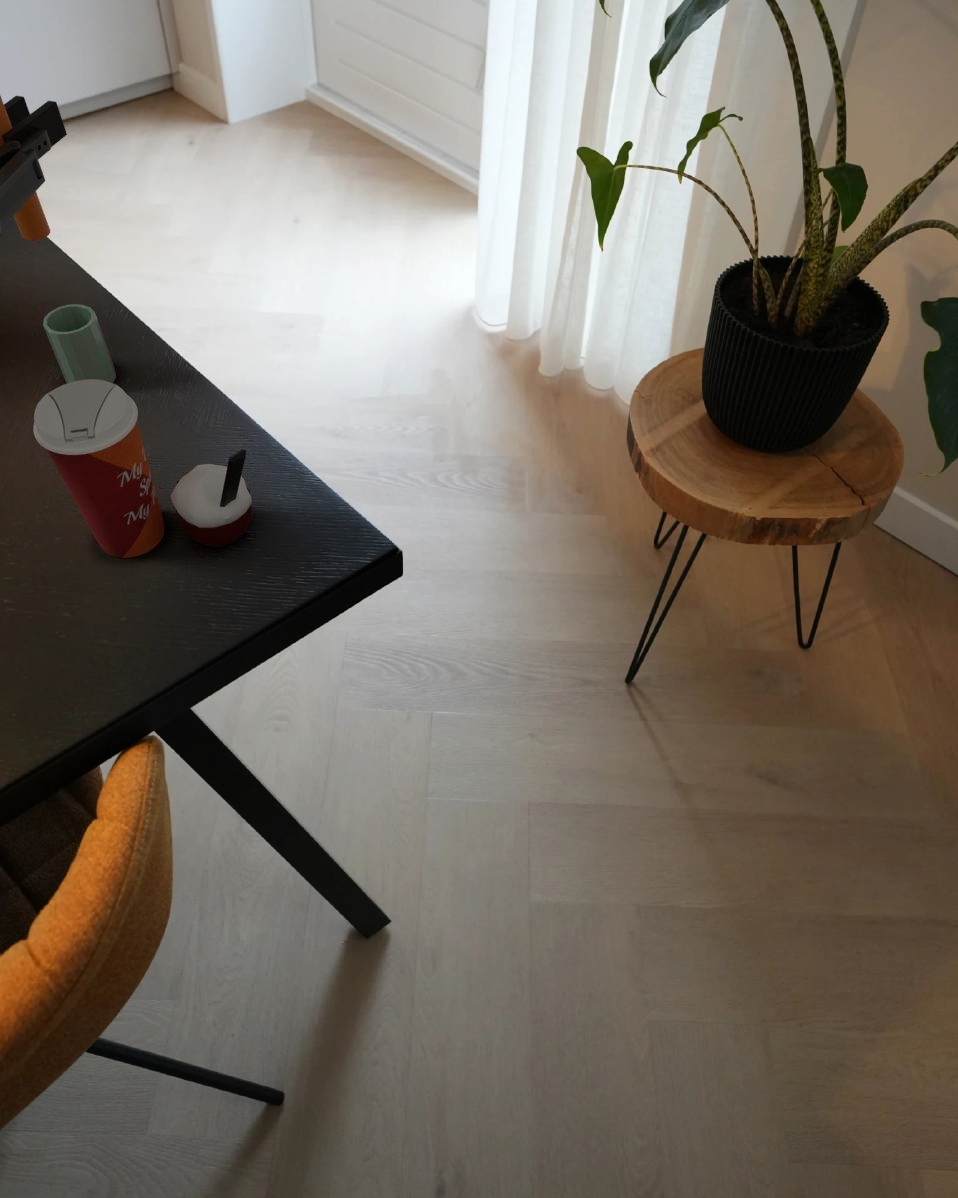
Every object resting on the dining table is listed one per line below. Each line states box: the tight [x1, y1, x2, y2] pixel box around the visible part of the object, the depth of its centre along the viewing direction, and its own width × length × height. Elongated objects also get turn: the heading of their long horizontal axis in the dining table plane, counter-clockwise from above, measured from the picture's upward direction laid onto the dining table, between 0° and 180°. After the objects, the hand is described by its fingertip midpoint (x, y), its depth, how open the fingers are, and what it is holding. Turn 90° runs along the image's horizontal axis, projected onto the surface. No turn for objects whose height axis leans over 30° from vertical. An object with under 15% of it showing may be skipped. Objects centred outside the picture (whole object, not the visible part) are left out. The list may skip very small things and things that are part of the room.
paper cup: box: [32, 379, 165, 559], centre depth 78 cm, size 8×8×14 cm
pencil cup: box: [42, 303, 117, 384], centre depth 94 cm, size 5×5×7 cm
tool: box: [0, 95, 51, 242], centre depth 78 cm, size 2×2×14 cm
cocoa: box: [169, 449, 253, 548], centre depth 79 cm, size 10×6×12 cm, turn 28°
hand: (41, 115), depth 81 cm, fingers closed on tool, 2 cm apart
